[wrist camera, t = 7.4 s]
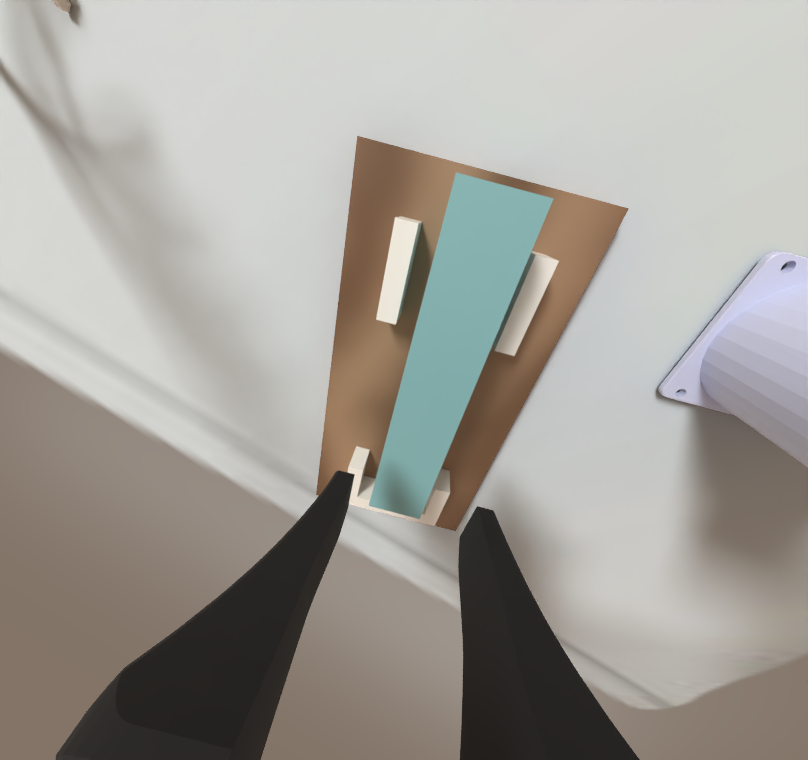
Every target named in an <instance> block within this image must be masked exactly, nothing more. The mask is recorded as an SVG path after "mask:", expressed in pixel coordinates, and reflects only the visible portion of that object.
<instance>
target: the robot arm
mask: <svg viewBox="0 0 808 760" xmlns="http://www.w3.org/2000/svg"><path fill="white" fill-rule="evenodd" d="M786 262H787V266H786V267H785V268H784V269H783V270H781V268H782V266H783V265H784V264H785V263H786ZM680 389H681V391H679V392H678V393H676V392H677V391H678V390H680ZM659 392H660V394H662V395H663V396H664V397H667V398H671V399H674V400H678V401H682V402H686V403H689V404H693V405H697V406H701V407H705V408H708V409H712V410H716V411H720V412H723V413H727V414H731V415H735V416H737V417H738V418H739V419H741V420H742V421H744V422H745V423H746V424H748V425H749V426H751V427H752V428H753V429H755V430H756V431H757V432H759V433H760V434H762V435H763V436H764V437H766V438H767V439H769V440H770V441H771V442H773V443H774V444H776V445H777V446H778V447H780V448H781V449H782V450H784V451H785V452H787V453H788V454H789V455H791V456H792V457H794V458H795V459H796V460H798V461H799V462H800V463H802V464H803V465H805V466H806V467H807V468H808V258H806V257H802V256H798V255H795V254H791V253H787V252H780V251H775V252H771V253H769V254H767V255H765V256H764V257H763V258H762V259H761V260H760V261H759V262H758V264H757V265H756V266H755V267H754V269H753V270H752V271H751V272H750V274H749V275H748V276H747V277H746V279H745V280H744V281H743V282H742V284H741V285H740V286H739V287H738V289H737V290H736V291H735V292H734V294H733V295H732V296H731V297H730V299H729V300H728V301H727V302H726V304H725V305H724V306H723V307H722V309H721V310H720V311H719V312H718V314H717V315H716V316H715V317H714V319H713V320H712V321H711V322H710V324H709V325H708V326H707V327H706V329H705V330H704V331H703V332H702V334H701V335H700V336H699V337H698V339H697V340H696V341H695V342H694V344H693V345H692V346H691V347H690V349H689V350H688V351H687V352H686V354H685V355H684V356H683V357H682V359H681V360H680V361H679V362H678V364H677V365H676V366H675V367H674V369H673V370H672V371H671V372H670V374H669V375H668V376H667V377H666V379H665V380H664V381H663V382H662V384H661V385H660V387H659ZM354 476H355V474H351V473H348V472H344V471H340V470H339V471H336V472H335V474H334V475H333V477H332V479H331V480H330V482H329V483H328V485H327V486H326V487H325V489H324V490H323V491H322V493H321V494H320V495H319V497H318V498H317V499H316V500H315V502H314V503H313V504H312V505H311V506H310V508H309V509H308V510H307V511H306V512H305V514H304V515H303V516H302V517H301V518H300V519H299V520H298V522H297V523H296V524H295V525H294V526H293V527H292V528H291V529H290V530H289V531H288V532H287V533H286V534H285V536H284V537H283V538H282V539H281V540H280V541H279V542H278V543H277V544H276V545H275V546H274V547H273V548H272V549H271V550H270V551H269V552H268V553H267V554H266V555H265V556H264V557H263V558H262V559H260V561H258V562H257V563H256V564H255V565H254V566H253V567H252V568H251V569H250V570H249V571H247V573H245V574H244V575H243V576H242V577H241V578H240V579H238V580H237V581H236V582H235V583H234V584H233V585H232V586H231V587H229V588H228V589H227V590H226V591H225V592H223V593H222V594H221V595H220V596H219V597H218V598H216V599H215V600H214V601H212V602H211V603H210V604H209V605H207V606H206V607H205V608H204V609H202V610H201V611H200V612H199V613H197V614H196V615H195V616H194V617H192V618H191V619H190V620H189V621H187V622H186V623H185V624H184V625H182V626H181V627H180V628H179V629H177V630H176V631H174V632H173V633H172V634H170V635H169V636H168V637H166V638H165V639H164V640H162V641H161V642H160V643H158V644H157V645H155V646H154V647H152V648H151V649H150V650H148V651H147V652H146V653H144V654H143V655H141V656H140V657H139V658H137V659H136V660H135V661H133V662H132V663H130V664H129V665H128V666H126V667H125V668H124V669H123V670H122V671H121V672H120V673H119V674H118V675H117V676H116V678H115V679H114V680H113V681H112V682H111V683H110V684H109V685H108V686H107V688H106V689H105V690H104V691H103V692H102V694H101V695H100V696H99V697H98V699H97V700H96V701H95V702H94V703H93V705H92V706H91V707H90V708H89V709H88V711H87V712H86V714H85V715H84V716H83V718H82V719H81V721H80V722H79V723H78V725H77V726H76V728H75V729H74V730H73V732H72V734H71V735H70V736H69V738H68V739H67V740H66V742H65V743H64V745H63V746H62V748H61V749H60V751H59V752H58V753H57V755H56V760H261V756H262V753H263V750H264V747H265V744H266V741H267V737H268V734H269V731H270V728H271V725H272V722H273V718H274V715H275V712H276V709H277V706H278V703H279V700H280V696H281V694H282V690H283V687H284V684H285V681H286V678H287V675H288V672H289V669H290V666H291V663H292V660H293V656H294V653H295V650H296V647H297V644H298V641H299V638H300V635H301V632H302V629H303V626H304V623H305V620H306V617H307V614H308V611H309V609H310V606H311V603H312V601H313V598H314V596H315V593H316V591H317V588H318V586H319V584H320V581H321V579H322V576H323V574H324V571H325V569H326V567H327V564H328V562H329V559H330V557H331V554H332V552H333V550H334V547H335V545H336V542H337V540H338V537H339V535H340V532H341V528H342V525H343V522H344V519H345V516H346V512H347V509H348V505H349V500H350V495H351V490H352V485H353V481H354ZM458 567H459V586H460V602H461V617H462V633H463V698H462V729H461V749H460V760H639V758H638V757H637V756H636V754H635V753H634V752H633V750H632V749H631V748H630V746H629V745H628V744H627V742H626V741H625V739H624V738H623V737H622V736H621V734H620V733H619V731H618V730H617V729H616V727H615V726H614V724H613V723H612V722H611V721H610V719H609V718H608V716H607V715H606V713H605V712H604V710H603V709H602V707H601V706H600V704H599V703H598V701H597V700H596V699H595V697H594V696H593V694H592V693H591V691H590V690H589V688H588V687H587V685H586V684H585V682H584V681H583V679H582V678H581V677H580V675H579V674H578V672H577V670H576V669H575V667H574V666H573V664H572V663H571V661H570V659H569V658H568V656H567V655H566V653H565V651H564V650H563V648H562V647H561V645H560V643H559V642H558V640H557V638H556V636H555V635H554V633H553V631H552V630H551V628H550V626H549V625H548V623H547V621H546V619H545V617H544V616H543V614H542V612H541V610H540V608H539V606H538V605H537V603H536V601H535V599H534V597H533V595H532V593H531V591H530V589H529V587H528V585H527V584H526V582H525V579H524V577H523V575H522V573H521V571H520V569H519V567H518V565H517V563H516V561H515V559H514V557H513V554H512V552H511V550H510V548H509V545H508V543H507V541H506V539H505V536H504V534H503V532H502V530H501V527H500V525H499V523H498V520H497V518H496V515H495V513H494V511H493V510H489V509H485V508H481V507H478V506H477V508H476V509H475V511H474V513H473V515H472V517H471V518H470V520H469V522H468V524H467V525H466V527H465V529H464V531H463V533H462V534H461V536H460V543H459V566H458Z"/></svg>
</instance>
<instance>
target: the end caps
mask: <svg viewBox="0 0 808 760" xmlns="http://www.w3.org/2000/svg"><path fill="white" fill-rule="evenodd" d="M421 224H422V222H421V221H417V220H414V219H410V218H406V217H402V216H400V217H395V220H394V226H393V231H392V236H391V242H390V247H389V253H388V258H387V263H386V269H385V274H384V279H383V285H382V290H381V295H380V301H379V306H378V311H377V317H376V320H380V321H383V322H387V323H391V324H395V325H396V323H397V321H398V319H399V316H400V314H401V311H402V307H403V303H404V298H405V294H406V290H407V285H408V281H409V277H410V272H411V268H412V264H413V259H414V255H415V250H416V246H417V242H418V237H419V233H420V229H421ZM558 262H559V261H558V260H556V259H554V258H551V257H549V256H547V255H545V254H541V253H537V252H534V251H531V254H530V256H529V259H528V261H527V263H526V266H525V268H524V271H523V273H522V275H521V278H520V280H519V283H518V285H517V287H516V290H515V292H514V295H513V297H512V299H511V302H510V304H509V307H508V309H507V311H506V314H505V316H504V318H503V321H502V323H501V326H500V328H499V330H498V333H497V335H496V338H495V340H494V342H493V347H494V350H495V351H497V352H501V353H504V354H508V355H512V356H515V354H516V352H517V349H518V347H519V345H520V343H521V341H522V339H523V337H524V335H525V332H526V330H527V328H528V326H529V324H530V322H531V320H532V318H533V315H534V313H535V311H536V309H537V307H538V305H539V303H540V301H541V298H542V296H543V294H544V292H545V290H546V288H547V286H548V283H549V281H550V279H551V277H552V275H553V273H554V271H555V269H556V266H557V264H558ZM369 451H370V450H369V449H365V448H361V447H358V446H356V448H355V451H354V454H353V456H352V459H351V462H350V464H349V467H348V473H351V474H355V476H354V481H353V485H352V490H351V495H350V500H349V504H350V505H354V506H358V507H362V508H366V509H370V510H373V511H377V512H381V513H385V514H389V515H393V516H396V517H400V518H404V519H408V520H412V521H416V522H419V523H423V524H427V525H431V526H435V524H436V522H437V520H438V518H439V516H440V513H441V511H442V509H443V507H444V505H445V503H446V501H447V499H448V496H449V494H450V471H449V470H445V469H442V468H441V469H440V472H439V474H438V476H437V479H436V481H435V484H434V486H433V488H432V491H431V493H430V496H429V498H428V500H427V503H426V505H425V508H424V510H423V512H422V515H421V517H420V519H417V518H413V517H410V516H406V515H402V514H398V513H394V512H390V511H387V510H383V509H379V508H375V507H371V506H369V502H370V499H371V495H372V491H373V487H374V483H375V480H376V479H375V478H371V477H367V476H364V472H365V468H366V464H367V459H368V455H369Z"/></svg>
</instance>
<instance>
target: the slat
mask: <svg viewBox="0 0 808 760" xmlns="http://www.w3.org/2000/svg"><path fill="white" fill-rule="evenodd" d="M553 199H554V198H550V197H546V196H542V195H539V194H535V193H531V192H527V191H524V190H520V189H516V188H513V187H509V186H505V185H501V184H498V183H494V182H490V181H486V180H483V179H479V178H475V177H471V176H468V175H464V174H460V173H457V172H456V174H455V178H454V182H453V186H452V190H451V193H450V197H449V201H448V205H447V209H446V213H445V216H444V220H443V224H442V228H441V232H440V235H439V239H438V243H437V247H436V251H435V254H434V258H433V262H432V266H431V270H430V274H429V277H428V281H427V285H426V289H425V293H424V296H423V300H422V304H421V308H420V312H419V316H418V319H417V323H416V327H415V331H414V335H413V338H412V342H411V346H410V350H409V354H408V357H407V361H406V365H405V369H404V373H403V377H402V380H401V384H400V388H399V392H398V396H397V399H396V403H395V407H394V411H393V415H392V419H391V422H390V426H389V430H388V434H387V438H386V441H385V445H384V449H383V453H382V457H381V460H380V464H379V468H378V472H377V476H376V480H375V483H374V487H373V491H372V495H371V499H370V502H369V506H371V507H375V508H379V509H383V510H387V511H390V512H394V513H398V514H402V515H406V516H410V517H413V518H417V519H420V517H421V515H422V512H423V510H424V508H425V505H426V503H427V500H428V498H429V496H430V493H431V491H432V488H433V486H434V484H435V481H436V479H437V476H438V474H439V472H440V469H441V467H442V464H443V462H444V460H445V457H446V455H447V452H448V450H449V448H450V445H451V443H452V441H453V438H454V436H455V433H456V431H457V429H458V426H459V424H460V421H461V419H462V417H463V414H464V412H465V409H466V407H467V405H468V402H469V400H470V397H471V395H472V393H473V390H474V388H475V385H476V383H477V381H478V378H479V376H480V374H481V371H482V369H483V366H484V364H485V362H486V359H487V357H488V354H489V352H490V350H491V347H492V345H493V342H494V340H495V338H496V335H497V333H498V330H499V328H500V326H501V323H502V321H503V318H504V316H505V314H506V311H507V309H508V307H509V304H510V302H511V299H512V297H513V295H514V292H515V290H516V287H517V285H518V283H519V280H520V278H521V275H522V273H523V271H524V268H525V266H526V263H527V261H528V259H529V256H530V254H531V251H532V249H533V247H534V244H535V242H536V239H537V237H538V235H539V232H540V230H541V228H542V225H543V223H544V220H545V218H546V216H547V213H548V211H549V208H550V206H551V204H552V201H553Z"/></svg>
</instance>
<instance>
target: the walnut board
mask: <svg viewBox="0 0 808 760" xmlns="http://www.w3.org/2000/svg"><path fill="white" fill-rule="evenodd" d="M456 172H457V173H460V174H464V175H468V176H471V177H475V178H479V179H483V180H486V181H490V182H494V183H498V184H501V185H505V186H509V187H513V188H516V189H520V190H524V191H527V192H531V193H535V194H539V195H542V196H546V197H550V198H554V199H553V201H552V204H551V206H550V208H549V211H548V213H547V216H546V218H545V220H544V223H543V225H542V228H541V230H540V232H539V235H538V237H537V239H536V242H535V244H534V247H533V249H532V251H534V252H537V253H541V254H545V255H547V256H549V257H551V258H554V259H556V260H558V261H559V262H558V264H557V266H556V269H555V271H554V273H553V275H552V277H551V279H550V281H549V283H548V286H547V288H546V290H545V292H544V294H543V296H542V298H541V301H540V303H539V305H538V307H537V309H536V311H535V313H534V315H533V318H532V320H531V322H530V324H529V326H528V328H527V330H526V332H525V335H524V337H523V339H522V341H521V343H520V345H519V347H518V349H517V352H516V354H515V356H512V355H508V354H504V353H501V352H497V351H495V350H494V347H493V345H492V347H491V350H490V352H489V354H488V357H487V359H486V362H485V364H484V366H483V369H482V371H481V374H480V376H479V378H478V381H477V383H476V385H475V388H474V390H473V393H472V395H471V397H470V400H469V402H468V405H467V407H466V409H465V412H464V414H463V417H462V419H461V421H460V424H459V426H458V429H457V431H456V433H455V436H454V438H453V441H452V443H451V445H450V448H449V450H448V452H447V455H446V457H445V460H444V462H443V464H442V467H441V468H442V469H445V470H449V471H450V494H449V496H448V499H447V501H446V503H445V505H444V507H443V509H442V511H441V513H440V516H439V518H438V520H437V522H436V524H435V526H439V527H442V528H446V529H450V530H454V531H456V529H457V527H458V525H459V523H460V521H461V520H462V518H463V516H464V514H465V512H466V510H467V508H468V506H469V505H470V503H471V501H472V499H473V497H474V495H475V493H476V492H477V490H478V488H479V486H480V484H481V482H482V480H483V479H484V477H485V475H486V473H487V471H488V469H489V467H490V466H491V464H492V462H493V460H494V458H495V456H496V454H497V453H498V451H499V449H500V447H501V445H502V443H503V441H504V440H505V438H506V436H507V434H508V432H509V430H510V428H511V427H512V425H513V423H514V421H515V419H516V417H517V415H518V414H519V412H520V410H521V408H522V406H523V404H524V402H525V400H526V399H527V397H528V395H529V393H530V391H531V389H532V387H533V386H534V384H535V382H536V380H537V378H538V376H539V374H540V373H541V371H542V369H543V367H544V365H545V363H546V361H547V360H548V358H549V356H550V354H551V352H552V350H553V348H554V347H555V345H556V343H557V341H558V339H559V337H560V335H561V334H562V332H563V330H564V328H565V326H566V324H567V322H568V321H569V319H570V317H571V315H572V313H573V311H574V309H575V308H576V306H577V304H578V302H579V300H580V298H581V296H582V295H583V293H584V291H585V289H586V287H587V285H588V283H589V281H590V280H591V278H592V276H593V274H594V272H595V270H596V268H597V267H598V265H599V263H600V261H601V259H602V257H603V255H604V254H605V252H606V250H607V248H608V246H609V244H610V242H611V241H612V239H613V237H614V235H615V233H616V231H617V229H618V228H619V226H620V224H621V222H622V220H623V218H624V216H625V215H626V213H627V211H628V208H624V207H621V206H617V205H613V204H609V203H606V202H602V201H598V200H595V199H591V198H587V197H583V196H580V195H576V194H572V193H568V192H565V191H561V190H557V189H553V188H550V187H546V186H542V185H539V184H535V183H531V182H527V181H524V180H520V179H516V178H512V177H509V176H505V175H501V174H497V173H494V172H490V171H486V170H483V169H479V168H475V167H471V166H468V165H464V164H460V163H456V162H453V161H449V160H445V159H442V158H438V157H434V156H430V155H427V154H423V153H419V152H415V151H412V150H408V149H404V148H400V147H397V146H393V145H389V144H386V143H382V142H378V141H374V140H371V139H367V138H363V137H359V136H357V145H356V154H355V162H354V171H353V180H352V188H351V197H350V206H349V215H348V223H347V232H346V241H345V249H344V258H343V267H342V276H341V284H340V293H339V302H338V310H337V319H336V328H335V336H334V345H333V354H332V363H331V371H330V380H329V389H328V397H327V406H326V415H325V424H324V432H323V441H322V450H321V458H320V467H319V476H318V485H317V493H316V495H320V494H321V493H322V491H323V490H324V489H325V487H326V486H327V485H328V483H329V482H330V480H331V479H332V477H333V475H334V474H335V472H336V471H339V470H340V471H344V472H348V467H349V464H350V462H351V459H352V456H353V454H354V451H355V448H356V446H358V447H361V448H365V449H369V450H370V451H369V455H368V459H367V464H366V468H365V472H364V476H367V477H371V478H375V479H376V476H377V472H378V468H379V464H380V460H381V457H382V453H383V449H384V445H385V441H386V438H387V434H388V430H389V426H390V422H391V419H392V415H393V411H394V407H395V403H396V399H397V396H398V392H399V388H400V384H401V380H402V377H403V373H404V369H405V365H406V361H407V357H408V354H409V350H410V346H411V342H412V338H413V335H414V331H415V327H416V323H417V319H418V316H419V312H420V308H421V304H422V300H423V296H424V293H425V289H426V285H427V281H428V277H429V274H430V270H431V266H432V262H433V258H434V254H435V251H436V247H437V243H438V239H439V235H440V232H441V228H442V224H443V220H444V216H445V213H446V209H447V205H448V201H449V197H450V193H451V190H452V186H453V182H454V178H455V174H456ZM400 216H402V217H406V218H410V219H414V220H417V221H421V222H422V224H421V229H420V233H419V237H418V242H417V246H416V250H415V255H414V259H413V264H412V268H411V272H410V277H409V281H408V285H407V290H406V294H405V298H404V303H403V307H402V311H401V314H400V316H399V319H398V321H397V323H396V325H395V324H391V323H387V322H383V321H380V320H376V317H377V311H378V306H379V301H380V295H381V290H382V285H383V279H384V274H385V269H386V263H387V258H388V253H389V247H390V242H391V236H392V231H393V226H394V220H395V217H400Z"/></svg>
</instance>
